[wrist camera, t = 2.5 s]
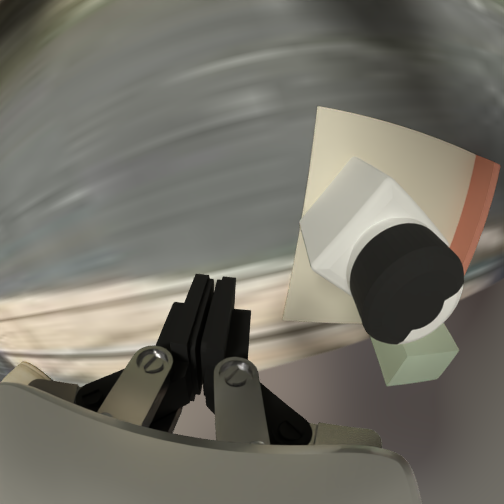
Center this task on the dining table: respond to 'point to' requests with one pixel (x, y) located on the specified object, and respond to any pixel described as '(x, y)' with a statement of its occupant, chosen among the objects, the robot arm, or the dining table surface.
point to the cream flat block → (409, 178)
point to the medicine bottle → (382, 254)
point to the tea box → (416, 358)
